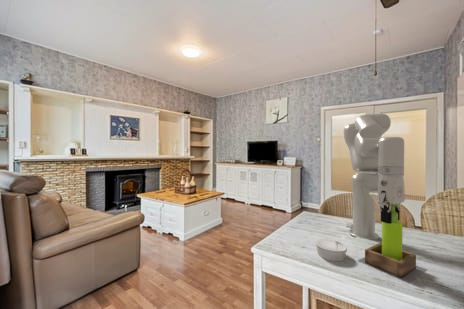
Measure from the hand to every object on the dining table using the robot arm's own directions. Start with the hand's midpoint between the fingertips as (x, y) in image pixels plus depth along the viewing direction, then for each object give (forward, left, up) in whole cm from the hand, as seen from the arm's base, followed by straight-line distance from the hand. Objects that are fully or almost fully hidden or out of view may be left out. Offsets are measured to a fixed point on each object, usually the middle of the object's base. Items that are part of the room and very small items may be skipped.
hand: (390, 220), depth 77 cm
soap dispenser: (0, 0, -14) cm, 14 cm away
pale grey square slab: (0, +1, -18) cm, 18 cm away
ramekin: (-16, -11, -18) cm, 26 cm away
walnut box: (0, 0, -17) cm, 17 cm away
